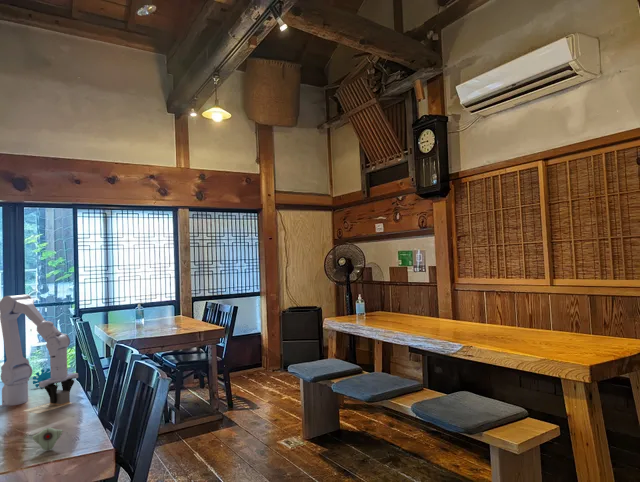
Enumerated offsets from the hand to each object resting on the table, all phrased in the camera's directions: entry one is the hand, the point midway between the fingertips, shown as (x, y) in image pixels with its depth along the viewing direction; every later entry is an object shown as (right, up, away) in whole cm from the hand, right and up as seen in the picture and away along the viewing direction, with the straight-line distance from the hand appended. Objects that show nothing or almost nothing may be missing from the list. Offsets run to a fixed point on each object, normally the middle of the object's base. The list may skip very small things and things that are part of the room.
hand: (59, 401), depth 177 cm
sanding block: (0, -1, 0) cm, 1 cm away
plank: (-2, -2, -4) cm, 5 cm away
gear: (-25, -5, +33) cm, 41 cm away
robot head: (+22, +1, -44) cm, 49 cm away
